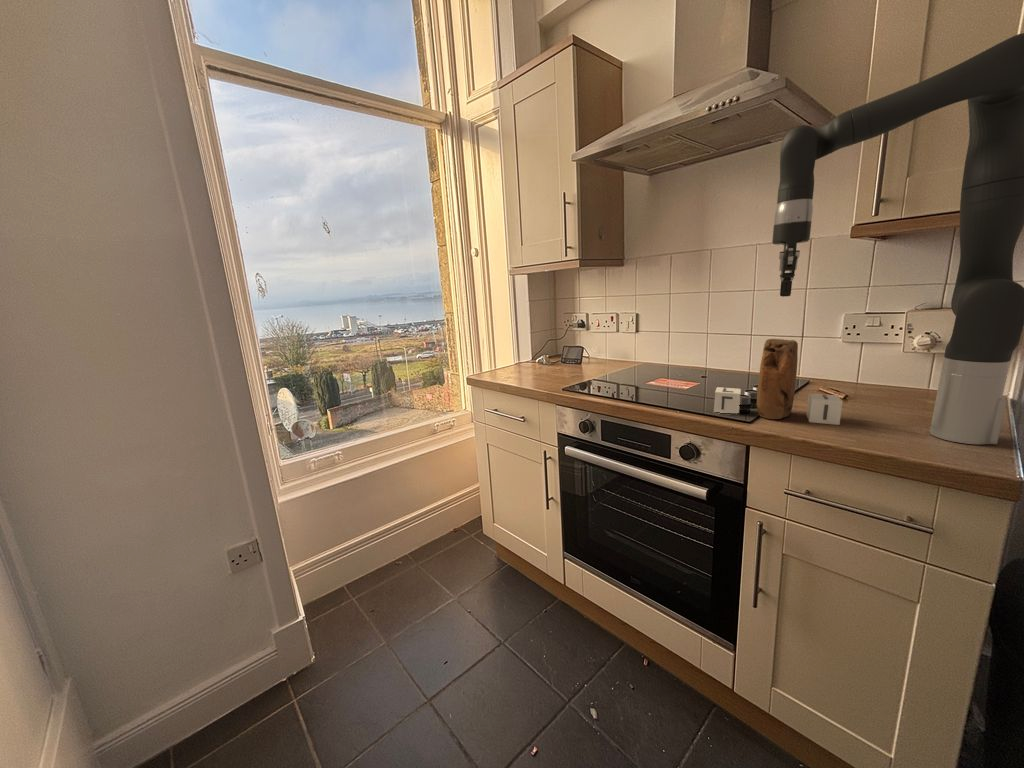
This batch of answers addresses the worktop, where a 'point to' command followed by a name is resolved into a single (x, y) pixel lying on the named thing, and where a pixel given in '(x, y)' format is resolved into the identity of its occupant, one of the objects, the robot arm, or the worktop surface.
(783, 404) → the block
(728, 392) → the cube seven
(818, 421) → the cube one
